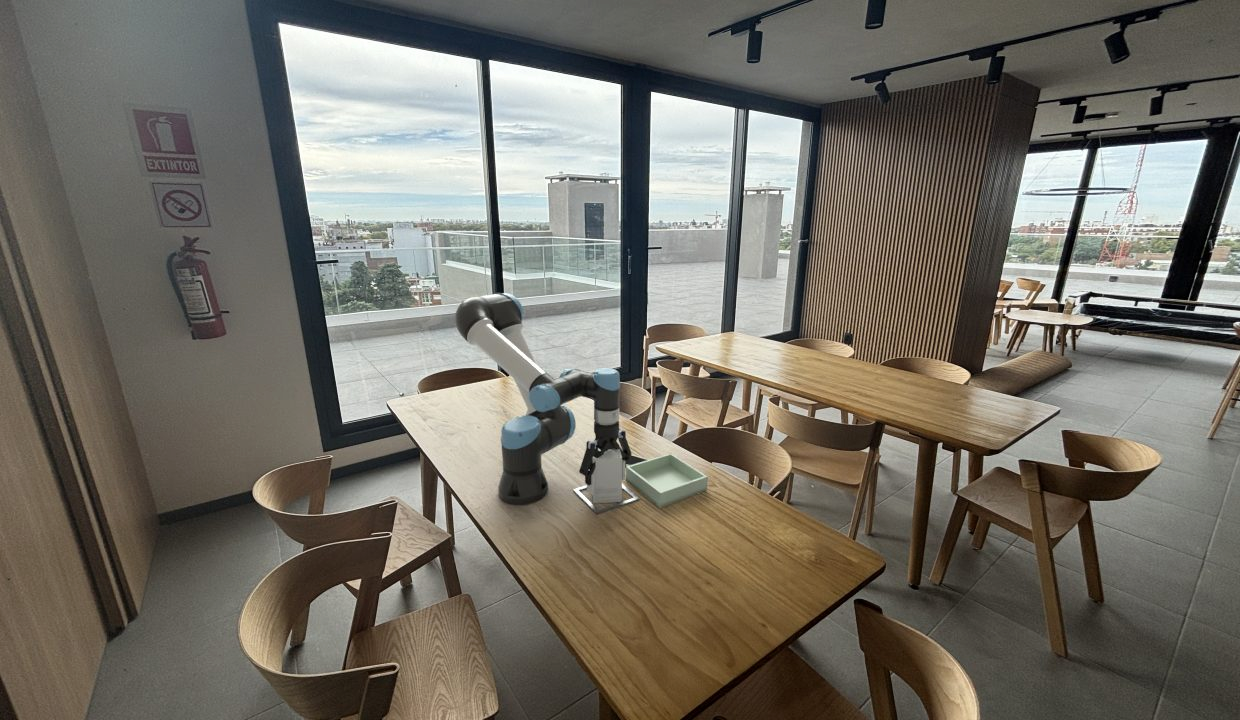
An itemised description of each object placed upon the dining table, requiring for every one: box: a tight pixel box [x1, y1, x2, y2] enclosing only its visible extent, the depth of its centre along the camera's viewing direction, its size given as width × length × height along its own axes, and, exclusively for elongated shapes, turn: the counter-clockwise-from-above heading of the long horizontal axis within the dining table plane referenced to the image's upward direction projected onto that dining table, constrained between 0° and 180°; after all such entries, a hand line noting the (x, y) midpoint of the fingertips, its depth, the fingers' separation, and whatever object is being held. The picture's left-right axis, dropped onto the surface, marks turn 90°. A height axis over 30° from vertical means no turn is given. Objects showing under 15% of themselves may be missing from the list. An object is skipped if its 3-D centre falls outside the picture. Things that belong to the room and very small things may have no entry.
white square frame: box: [573, 483, 640, 515], centre depth 152 cm, size 15×15×1 cm
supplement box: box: [591, 448, 623, 504], centre depth 150 cm, size 9×9×15 cm
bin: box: [625, 452, 709, 509], centre depth 158 cm, size 19×19×5 cm
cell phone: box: [626, 454, 650, 467], centre depth 173 cm, size 8×16×1 cm, turn 60°
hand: (606, 485), depth 151 cm, fingers closed on supplement box, 12 cm apart
